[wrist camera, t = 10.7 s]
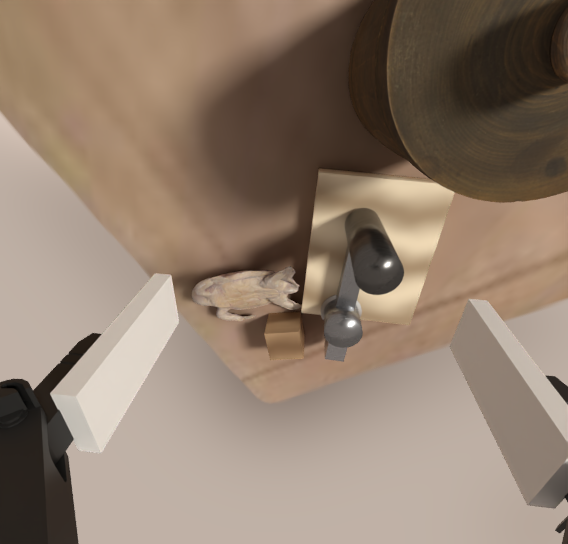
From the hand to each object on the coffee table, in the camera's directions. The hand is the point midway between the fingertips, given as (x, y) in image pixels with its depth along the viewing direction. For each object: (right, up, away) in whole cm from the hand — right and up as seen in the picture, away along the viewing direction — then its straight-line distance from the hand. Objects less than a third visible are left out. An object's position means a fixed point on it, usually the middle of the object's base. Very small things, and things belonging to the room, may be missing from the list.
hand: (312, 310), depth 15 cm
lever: (+6, 0, +24) cm, 25 cm away
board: (+9, +4, +24) cm, 26 cm away
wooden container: (+12, +21, +15) cm, 28 cm away
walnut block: (-1, -6, +31) cm, 32 cm away
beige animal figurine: (-5, 0, +29) cm, 29 cm away
